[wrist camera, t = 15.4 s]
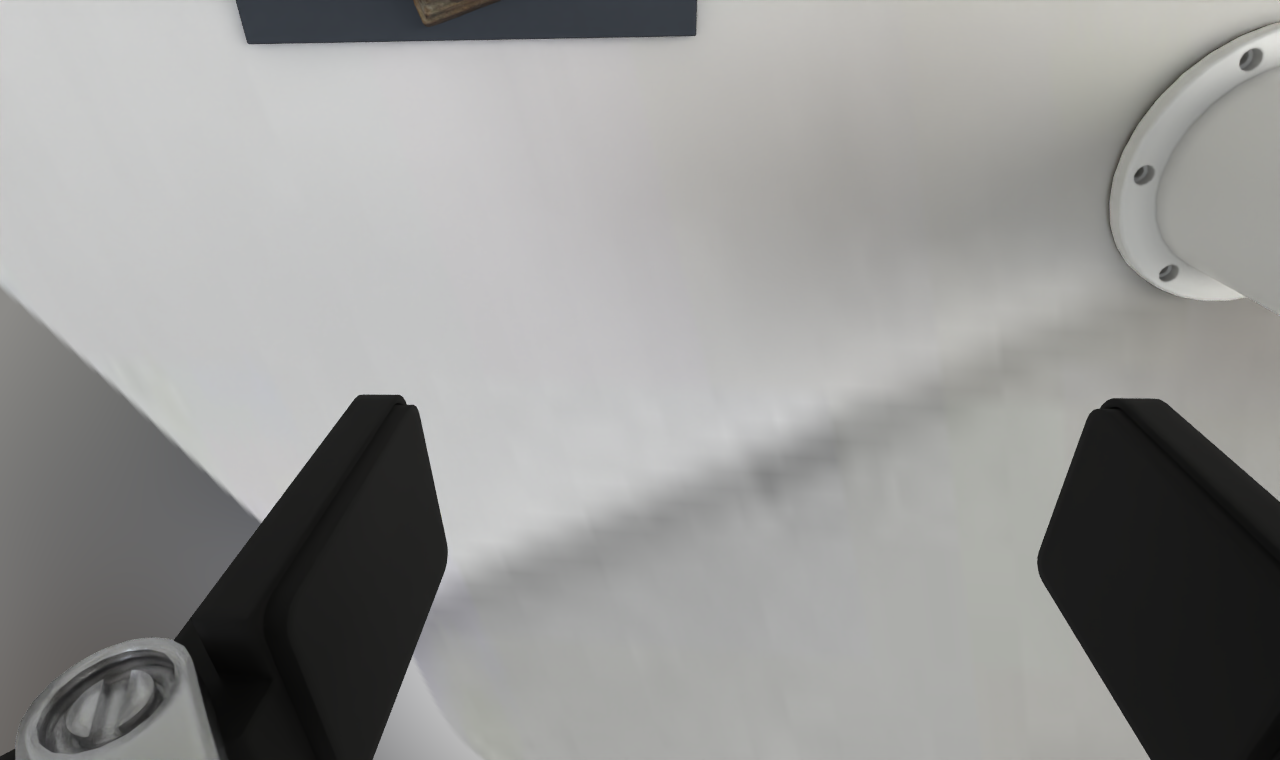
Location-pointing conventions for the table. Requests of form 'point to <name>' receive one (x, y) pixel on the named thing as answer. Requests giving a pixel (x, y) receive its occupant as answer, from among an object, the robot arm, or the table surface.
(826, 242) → the table surface
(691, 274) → the table surface
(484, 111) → the table surface
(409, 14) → the iron rest mat
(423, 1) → the clothes iron
